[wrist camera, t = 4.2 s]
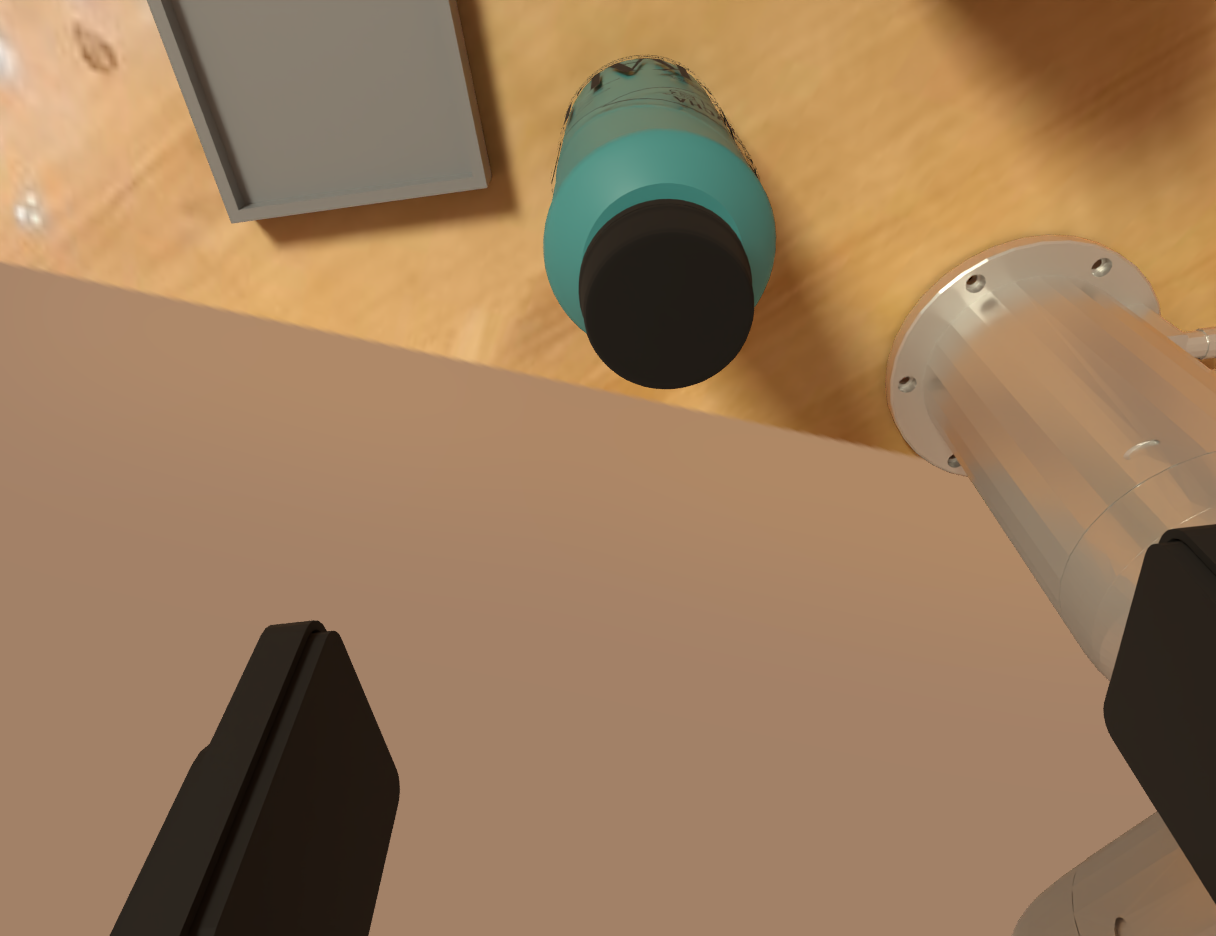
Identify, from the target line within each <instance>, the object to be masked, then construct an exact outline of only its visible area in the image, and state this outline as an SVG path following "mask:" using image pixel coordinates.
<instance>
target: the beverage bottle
mask: <svg viewBox="0 0 1216 936" xmlns="http://www.w3.org/2000/svg"><path fill="white" fill-rule="evenodd" d="M636 56H639V55H636ZM651 56H654V55H651ZM629 57H631V56H629ZM644 57H648V56H644ZM655 58H656V57H655ZM658 58H659V57H658ZM664 58H665V57H664ZM621 59H622V58H621ZM628 59H629V58H628ZM661 59H663V58H661ZM668 59H669V58H668ZM618 60H619V59H618ZM615 61H616V60H615ZM619 61H620V60H619ZM669 61H670V60H669ZM673 61H674V60H673ZM673 61H672V62H673ZM613 62H614V61H613ZM616 62H617V61H616ZM675 63H676V62H675ZM678 63H679V62H678ZM612 64H613V63H612ZM673 64H674V63H673ZM673 64H670V63H668V62H665V61H664V60H663V61H662V60H660V59H651V58H642V59H634V60H628V61H623V62H620V63H617V64H614V65H612V66H610V67H608V68H607V69H605V70H604V71H603V70H602V69H601V68H600V69H601V70H602V72H601V73H600V72H599V73H598V74H596V75H595V76H594V77H593V78H592V80H591V79H590V78H591V77H592V76H591V77H590V78H589V79H590V80H591V81H590V80H589V81H590V82H589V83H588V84H587V85H586V86H585V87H584V86H583V87H584V89H583V90H582V92H581V93H580V94H579V92H580V91H579V92H578V94H579V96H578V94H577V96H578V97H577V99H576V101H575V103H574V105H573V107H572V110H571V112H570V108H571V105H569V108H568V111H566V112H567V114H566V118H565V117H564V118H565V122H566V120H567V118H568V116H569V118H568V122H567V126H566V130H564V131H565V135H564V138H563V144H562V148H561V152H560V157H559V159H558V157H557V159H558V165H557V173H556V184H555V189H554V194H553V199H552V203H551V206H550V208H549V212H548V215H547V219H546V223H545V231H544V240H543V243H544V261H545V269H546V272H547V276H548V280H549V283H550V285H551V288H552V290H553V293H554V295H555V297H556V299H557V300H558V302H559V304H560V305H561V307H562V308H563V310H564V311H565V312H566V314H567V315H568V316H569V318H570V319H571V320H572V321H573V322H574V323H575V324H576V325H577V326H578V327H579V328H580V329H582V330H583V331H584V332H585V333H587V336H588V338H589V340H590V343H591V345H592V347H593V348H594V350H595V352H596V353H597V355H598V356H599V357H600V358H601V360H602V361H603V362H604V363H605V364H606V365H607V366H608V367H609V368H610V369H611V370H612V371H614V372H615V373H616V374H618V375H619V376H621V377H622V378H624V379H626V380H628V381H630V382H632V383H635V384H638V385H641V386H644V387H649V388H656V389H676V388H683V387H687V386H691V385H694V384H697V383H700V382H703V381H705V380H707V379H708V378H710V377H712V376H714V375H715V374H717V373H718V372H720V371H721V370H722V369H723V368H725V367H726V366H727V365H728V364H729V363H730V362H731V361H732V360H733V359H734V358H735V357H736V355H737V354H738V353H739V351H740V350H741V348H742V346H743V345H744V343H745V341H746V339H747V336H748V334H749V331H750V328H751V325H752V321H753V315H754V307H755V306H756V304H757V303H758V301H759V299H760V298H761V296H762V294H763V292H764V290H765V287H766V285H767V283H768V281H769V278H770V274H771V271H772V267H773V263H774V257H775V251H776V229H775V221H774V216H773V212H772V208H771V205H770V202H769V199H768V197H767V194H766V192H765V191H764V189H763V187H762V185H761V183H760V180H759V179H758V177H756V176H757V174H756V170H757V169H756V170H755V169H754V170H755V171H754V172H753V171H752V170H753V169H752V168H750V167H751V166H750V167H749V165H750V164H748V163H749V162H748V161H747V162H748V163H747V162H746V160H745V158H744V156H743V155H742V153H741V151H740V150H739V148H738V146H737V144H736V143H735V141H734V138H736V137H734V136H733V133H734V131H732V129H733V128H732V126H729V124H728V122H727V120H726V122H727V123H726V124H727V125H728V127H729V129H730V132H731V134H732V136H731V134H730V133H729V131H728V129H727V127H726V126H727V125H726V124H725V119H726V118H727V117H726V116H725V115H724V113H723V111H722V109H721V108H720V107H719V108H720V109H721V111H722V114H723V115H724V118H723V117H722V119H724V122H723V120H722V119H721V117H720V115H721V114H720V115H719V114H718V112H717V110H716V109H715V107H714V105H713V104H712V102H711V100H710V98H711V97H710V98H709V96H708V95H707V93H706V92H705V90H704V89H703V88H702V87H701V85H700V84H699V83H700V82H699V83H698V82H697V81H698V80H697V81H696V80H695V79H694V78H693V77H692V76H691V75H690V74H688V73H687V72H686V69H687V68H686V69H685V68H683V67H684V65H683V67H681V66H679V65H680V64H679V65H677V64H675V65H673ZM676 65H677V66H676ZM608 66H609V65H608ZM603 67H604V66H603ZM605 67H607V66H605ZM688 70H689V68H688ZM597 71H598V70H597ZM596 73H597V72H596ZM692 73H694V72H692ZM593 74H594V73H593ZM593 74H592V75H593ZM580 87H581V86H580ZM583 87H582V88H583ZM703 87H705V86H703ZM582 88H581V89H582ZM705 88H706V87H705ZM581 89H579V90H581ZM706 89H707V88H706ZM708 90H709V89H708ZM708 90H707V91H708ZM708 92H709V91H708ZM709 93H710V92H709ZM575 94H576V93H575ZM711 95H712V93H711ZM572 99H573V98H572ZM712 101H713V100H712ZM716 102H717V101H716ZM716 102H714V103H716ZM570 104H572V103H570ZM716 106H717V107H718V105H717V104H716ZM569 112H570V114H569ZM725 117H726V118H725ZM565 122H564V123H563V124H565ZM730 127H731V128H732V129H731V128H730ZM563 129H564V128H563ZM733 130H734V129H733ZM732 132H733V133H732ZM560 134H561V133H560ZM734 134H735V133H734ZM735 135H736V134H735ZM732 137H733V138H732ZM737 137H738V135H737ZM736 140H737V138H736ZM737 141H738V140H737ZM738 142H739V141H738ZM739 143H740V142H739ZM741 143H742V142H741ZM741 143H740V144H741ZM741 145H742V144H741ZM560 146H561V143H560ZM558 148H559V147H558ZM743 148H744V146H743ZM745 149H746V148H745ZM559 150H560V148H559ZM743 150H744V149H743ZM745 153H746V151H745ZM747 153H748V152H747ZM558 155H559V153H558ZM745 155H746V154H745ZM747 157H748V156H747ZM749 158H750V157H749ZM749 158H747V159H749ZM750 160H751V161H750V162H752V159H750ZM752 163H753V162H752ZM556 164H557V161H556ZM755 167H756V166H755ZM555 168H556V166H555ZM751 169H752V170H751ZM554 172H555V170H554ZM754 173H755V174H754ZM757 173H758V172H757ZM551 176H552V175H551ZM758 176H759V175H758ZM553 177H554V174H553ZM552 181H553V179H552ZM552 181H551V182H552ZM552 192H553V191H552Z"/></svg>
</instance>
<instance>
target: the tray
mask: <svg viewBox="0 0 1216 936" xmlns="http://www.w3.org/2000/svg"><path fill="white" fill-rule="evenodd" d="M147 2H148V4H149V7H150V10H151V12H152V15H153V18H154V20H155V23H156V26H157V28H158V31H159V33H160V36H161V39H162V41H163V44H164V47H165V49H166V52H167V55H168V57H169V60H170V62H171V65H172V68H173V70H174V73H175V76H176V78H177V81H178V84H179V86H180V89H181V92H182V94H183V97H184V99H185V102H186V105H187V107H188V110H189V113H190V115H191V118H192V121H193V123H194V126H195V128H196V131H197V134H198V136H199V139H200V142H201V144H202V147H203V150H204V152H205V155H206V157H207V160H208V163H209V165H210V168H211V171H212V173H213V176H214V179H215V181H216V184H217V186H218V189H219V192H220V194H221V197H222V200H223V202H224V205H225V208H226V210H227V213H228V215H229V218H230V221H231V223H239V222H246V221H253V220H260V219H268V218H275V217H282V216H289V215H296V214H303V213H311V212H318V211H325V210H332V209H339V208H346V207H354V206H361V205H368V204H375V203H382V202H389V201H397V200H404V199H411V198H418V197H425V196H432V195H440V194H447V193H454V192H461V191H468V190H475V189H483V188H488V185H489V183H490V181H491V178H492V174H491V169H490V164H489V159H488V154H487V149H486V144H485V139H484V134H483V129H482V124H481V120H480V115H479V110H478V105H477V100H476V95H475V90H474V85H473V80H472V75H471V70H470V65H469V61H468V56H467V51H466V46H465V41H464V36H463V31H462V26H461V21H460V16H459V11H458V6H457V1H456V0H147Z"/></svg>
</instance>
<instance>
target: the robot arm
mask: <svg viewBox="0 0 1216 936" xmlns="http://www.w3.org/2000/svg"><path fill="white" fill-rule="evenodd" d="M973 275H974V276H973ZM971 276H973V278H972V279H971V280H970V281H967V280H968V279H969V278H970V277H971ZM1196 358H1198V359H1208V358H1216V327H1209V328H1201V329H1197V330H1196V331H1188V332H1182V331H1181V330H1179V329H1178V328H1177V327H1175V326H1174V325H1172V324H1171V323H1170V322H1168V321H1167V320H1165V319H1164V318H1163V317H1161V313H1160V306H1159V302H1158V300H1157V297H1156V295H1155V293H1154V291H1153V288H1152V286H1151V284H1150V282H1149V281H1148V280H1147V279H1146V277H1145V276H1144V275H1143V274H1142V273H1141V271H1140V270H1139V269H1138V268H1137V266H1135V265H1134V264H1132V263H1131V262H1130V261H1128V260H1127V259H1126V258H1124V257H1123V256H1122V255H1120V254H1119V253H1117V252H1115V251H1113V250H1111V249H1110V248H1108V247H1106V246H1104V245H1102V244H1100V243H1099V242H1095V241H1091V240H1088V239H1084V238H1080V237H1076V236H1066V235H1041V236H1033V237H1025V238H1020V239H1016V240H1013V241H1010V242H1006V243H1003V244H1000V245H997V246H993V247H991V248H989V249H987V250H985V251H983V252H981V253H979V254H977V255H975V256H973V257H971V258H969V259H967V260H965V261H964V262H963V263H961V264H960V265H958V266H957V267H955V268H954V269H953V270H951V271H950V272H948V273H947V274H945V275H944V276H943V277H942V278H941V279H940V280H938V281H937V282H936V283H935V284H934V285H933V286H932V287H931V288H930V289H929V290H928V291H927V292H926V293H925V294H924V295H923V296H922V297H921V298H920V300H919V301H918V302H917V304H916V305H915V306H914V307H913V309H912V310H911V311H910V313H909V314H908V315H907V317H906V318H905V320H904V322H903V324H902V326H901V328H900V330H899V332H898V334H897V335H896V337H895V339H894V343H893V346H892V349H891V352H890V355H889V358H888V362H887V371H886V380H885V386H886V395H887V404H888V407H889V409H890V412H891V415H892V418H893V420H894V423H895V424H896V426H897V428H898V429H899V431H900V433H901V435H902V436H903V438H904V440H905V441H906V442H907V443H908V444H909V445H910V446H911V448H912V449H913V450H914V451H915V452H916V453H917V454H918V455H919V456H921V457H922V458H924V459H925V460H926V461H928V462H929V463H931V464H932V465H934V466H936V467H938V468H940V469H942V470H945V471H947V472H949V473H953V474H958V475H962V476H966V477H969V479H970V480H971V482H972V483H973V484H974V486H975V488H976V489H977V491H978V492H979V494H980V495H981V497H982V498H983V500H984V501H985V503H986V504H987V506H988V507H989V509H990V510H991V512H992V513H993V515H994V516H995V518H996V519H997V521H998V523H999V524H1000V525H1001V527H1002V529H1003V530H1004V532H1005V533H1006V535H1007V536H1008V538H1009V539H1010V541H1011V542H1012V544H1013V545H1014V547H1015V548H1016V550H1017V551H1018V553H1019V554H1020V556H1021V557H1022V559H1023V560H1024V562H1025V563H1026V565H1027V567H1028V568H1029V570H1030V571H1031V573H1032V574H1033V576H1034V577H1035V578H1036V580H1037V582H1038V583H1039V585H1040V586H1041V588H1042V589H1043V591H1044V592H1045V594H1046V595H1047V597H1048V598H1049V600H1050V601H1051V603H1052V604H1053V606H1054V608H1055V609H1056V610H1057V612H1058V614H1059V615H1060V617H1061V618H1062V619H1063V621H1064V623H1065V624H1066V625H1067V627H1068V629H1069V630H1070V632H1071V633H1072V635H1073V636H1074V638H1075V639H1076V641H1077V642H1078V644H1079V645H1080V647H1081V648H1082V650H1083V651H1084V653H1085V654H1086V655H1087V657H1088V658H1089V659H1090V661H1091V662H1092V663H1093V664H1094V665H1095V667H1096V668H1097V669H1098V670H1099V671H1100V672H1101V673H1102V674H1103V675H1104V676H1105V677H1106V678H1107V679H1108V680H1109V681H1110V684H1109V687H1108V691H1107V695H1106V698H1105V702H1104V708H1103V709H1104V718H1105V723H1106V726H1107V729H1108V731H1109V733H1110V736H1111V737H1112V739H1113V741H1114V743H1115V744H1116V746H1117V747H1118V749H1119V751H1120V752H1121V754H1122V755H1123V757H1124V759H1125V760H1126V762H1127V763H1128V765H1129V767H1130V768H1131V770H1132V771H1133V773H1134V775H1135V776H1136V778H1137V779H1138V781H1139V783H1140V784H1141V786H1142V787H1143V789H1144V791H1145V792H1146V794H1147V795H1148V797H1149V799H1150V800H1151V802H1152V803H1153V805H1154V806H1155V808H1156V810H1157V812H1156V813H1154V814H1153V815H1151V816H1150V817H1148V818H1147V819H1145V820H1144V821H1142V822H1141V823H1139V824H1138V825H1136V826H1135V827H1133V828H1132V829H1130V830H1129V831H1127V832H1126V833H1124V834H1123V835H1121V836H1120V837H1118V838H1117V839H1115V840H1114V841H1113V842H1111V843H1109V844H1108V845H1106V846H1105V847H1103V848H1102V849H1100V850H1099V851H1097V852H1096V853H1094V854H1093V855H1091V856H1090V857H1088V858H1087V859H1086V860H1085V861H1084V862H1082V863H1081V864H1079V865H1078V866H1076V867H1075V868H1073V869H1072V870H1071V871H1069V872H1068V873H1066V874H1065V875H1063V876H1062V877H1061V878H1060V879H1059V880H1057V881H1056V882H1055V883H1054V884H1052V885H1051V886H1050V887H1049V888H1047V889H1046V890H1045V891H1044V892H1042V893H1041V894H1040V895H1039V896H1038V897H1037V898H1036V899H1035V900H1034V901H1033V902H1032V903H1031V904H1030V905H1029V907H1028V908H1027V909H1026V911H1025V912H1024V913H1023V915H1022V916H1021V917H1020V919H1019V920H1018V923H1017V925H1016V927H1015V929H1014V931H1013V933H1012V936H1216V369H1209V368H1208V367H1207V366H1205V365H1204V364H1203V363H1201V362H1200V361H1199V360H1197V359H1196ZM905 377H906V378H905ZM903 378H904V379H903ZM902 379H903V380H902ZM399 793H400V786H399V776H398V773H397V769H396V767H395V765H394V762H393V760H392V757H391V755H390V753H389V750H388V748H387V746H386V743H385V741H384V738H383V736H382V734H381V731H380V729H379V727H378V724H377V722H376V720H375V717H374V715H373V712H372V710H371V708H370V705H369V703H368V701H367V698H366V696H365V693H364V691H363V689H362V686H361V684H360V681H359V679H358V677H357V674H356V672H355V670H354V668H353V665H352V663H351V660H350V658H349V656H348V653H347V651H346V648H345V646H344V644H343V641H342V639H341V637H340V635H339V634H338V633H337V632H336V631H326V629H325V627H324V626H323V624H322V623H320V622H319V621H305V622H296V623H287V624H277V625H270V626H269V627H267V628H265V630H264V632H263V633H262V635H261V636H260V639H259V641H258V643H257V645H256V647H255V649H254V652H253V654H252V656H251V658H250V660H249V662H248V664H247V666H246V668H245V670H244V672H243V675H242V677H241V679H240V681H239V683H238V685H237V687H236V690H235V692H234V694H233V696H232V698H231V700H230V702H229V704H228V706H227V708H226V711H225V713H224V715H223V717H222V719H221V721H220V723H219V726H218V728H217V730H216V732H215V734H214V736H213V738H212V740H211V742H210V744H209V745H208V746H207V747H205V748H204V749H203V750H202V751H201V752H200V753H199V754H198V756H197V758H196V759H195V761H194V762H193V764H192V766H191V768H190V770H189V772H188V774H187V776H186V778H185V780H184V782H183V784H182V787H181V789H180V791H179V793H178V795H177V797H176V799H175V801H174V803H173V805H172V807H171V809H170V811H169V813H168V816H167V818H166V820H165V822H164V824H163V826H162V828H161V830H160V832H159V834H158V836H157V838H156V841H155V843H154V845H153V847H152V849H151V851H150V853H149V855H148V857H147V859H146V861H145V863H144V866H143V868H142V869H141V872H140V874H139V876H138V878H137V880H136V882H135V884H134V886H133V888H132V890H131V892H130V894H129V897H128V899H127V901H126V903H125V905H124V907H123V909H122V911H121V913H120V915H119V917H118V919H117V921H116V924H115V926H114V928H113V930H112V932H111V934H110V936H368V934H369V930H370V925H371V921H372V917H373V913H374V908H375V904H376V899H377V895H378V891H379V886H380V882H381V877H382V873H383V869H384V864H385V860H386V855H387V851H388V847H389V842H390V837H391V833H392V829H393V824H394V820H395V815H396V811H397V807H398V801H399Z"/></svg>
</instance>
